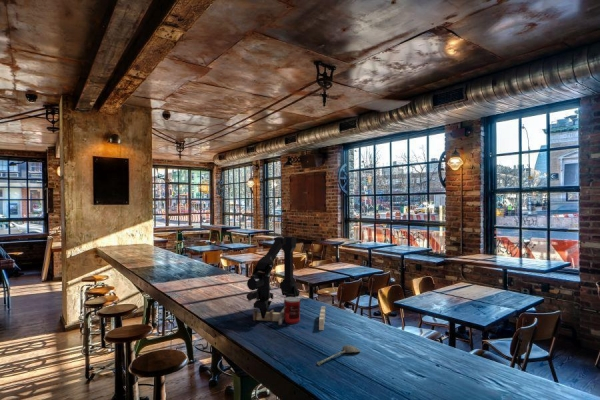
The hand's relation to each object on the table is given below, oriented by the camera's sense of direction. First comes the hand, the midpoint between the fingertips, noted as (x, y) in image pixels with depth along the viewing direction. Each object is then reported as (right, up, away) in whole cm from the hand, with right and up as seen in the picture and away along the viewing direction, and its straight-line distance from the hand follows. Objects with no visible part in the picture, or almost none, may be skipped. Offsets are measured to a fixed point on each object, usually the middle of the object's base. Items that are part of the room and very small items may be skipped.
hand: (263, 317), depth 176 cm
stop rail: (+29, -2, -3) cm, 29 cm away
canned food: (+14, -2, -2) cm, 14 cm away
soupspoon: (+33, -2, -41) cm, 52 cm away
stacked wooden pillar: (+2, -1, 0) cm, 3 cm away
